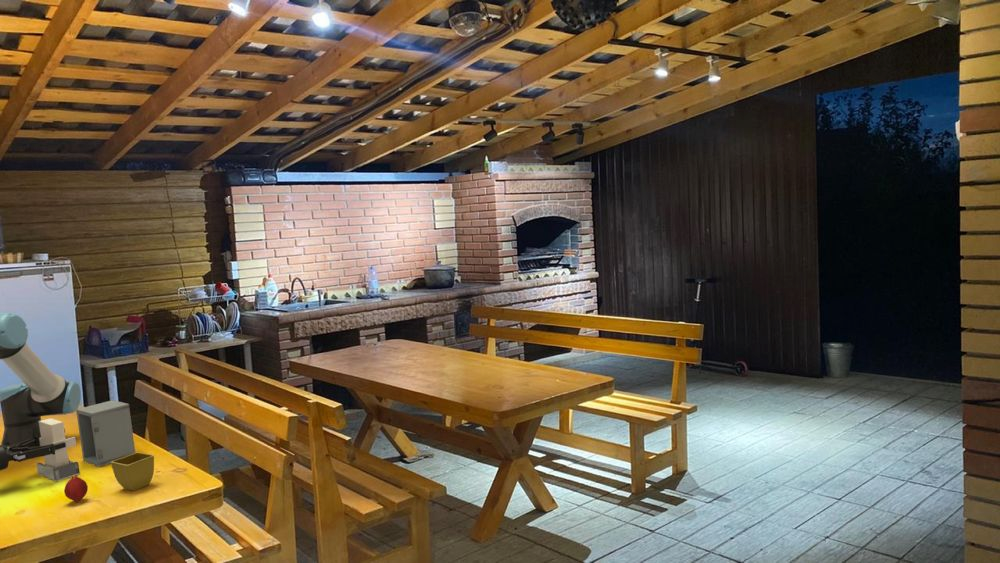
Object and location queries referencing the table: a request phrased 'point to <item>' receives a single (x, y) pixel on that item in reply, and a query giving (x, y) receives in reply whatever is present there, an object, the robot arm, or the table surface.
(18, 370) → the robot arm
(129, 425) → the cabinet
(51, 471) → the drawer
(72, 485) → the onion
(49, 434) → the door
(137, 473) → the flower pot
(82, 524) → the table surface
